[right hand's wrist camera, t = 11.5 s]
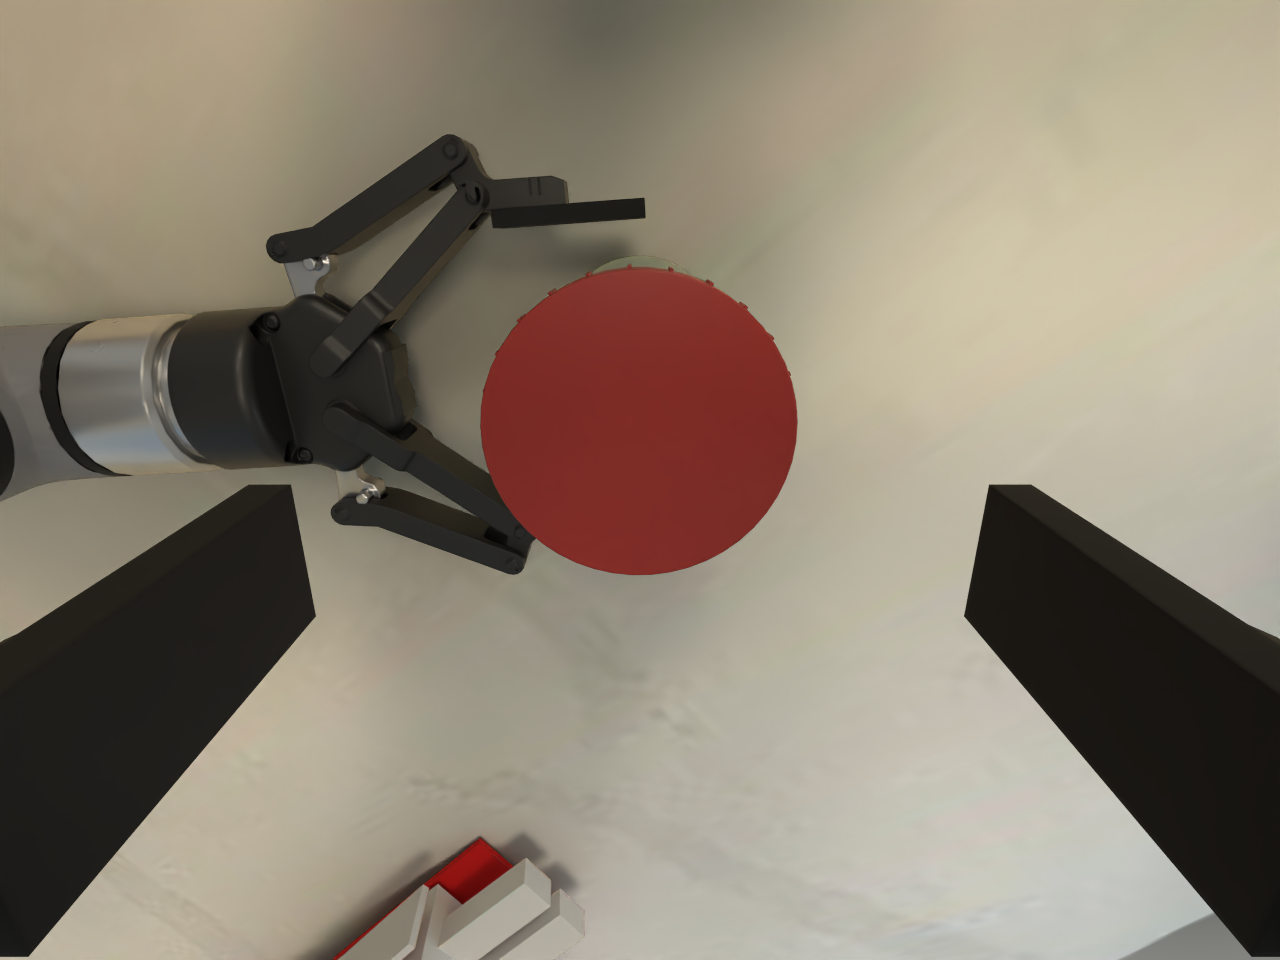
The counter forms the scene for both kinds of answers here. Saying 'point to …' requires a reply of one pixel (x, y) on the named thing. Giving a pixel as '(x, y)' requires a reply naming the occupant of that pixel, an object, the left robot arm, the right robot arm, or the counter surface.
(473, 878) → the toy
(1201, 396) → the counter surface
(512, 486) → the lid
